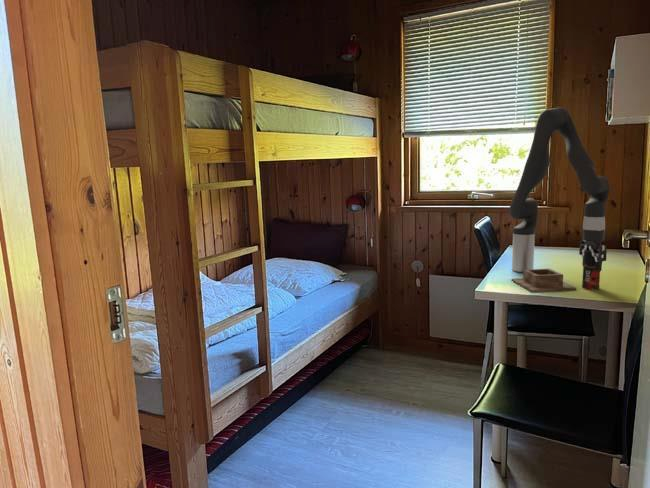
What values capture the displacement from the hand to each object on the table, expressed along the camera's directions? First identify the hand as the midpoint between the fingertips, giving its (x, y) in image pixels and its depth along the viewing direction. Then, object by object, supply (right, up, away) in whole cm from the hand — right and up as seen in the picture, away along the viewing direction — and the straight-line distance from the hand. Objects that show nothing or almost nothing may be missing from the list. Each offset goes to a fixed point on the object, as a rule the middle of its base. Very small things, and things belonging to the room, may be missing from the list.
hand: (591, 268), depth 193 cm
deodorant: (0, -8, +2) cm, 8 cm away
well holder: (-16, -7, +8) cm, 19 cm away
